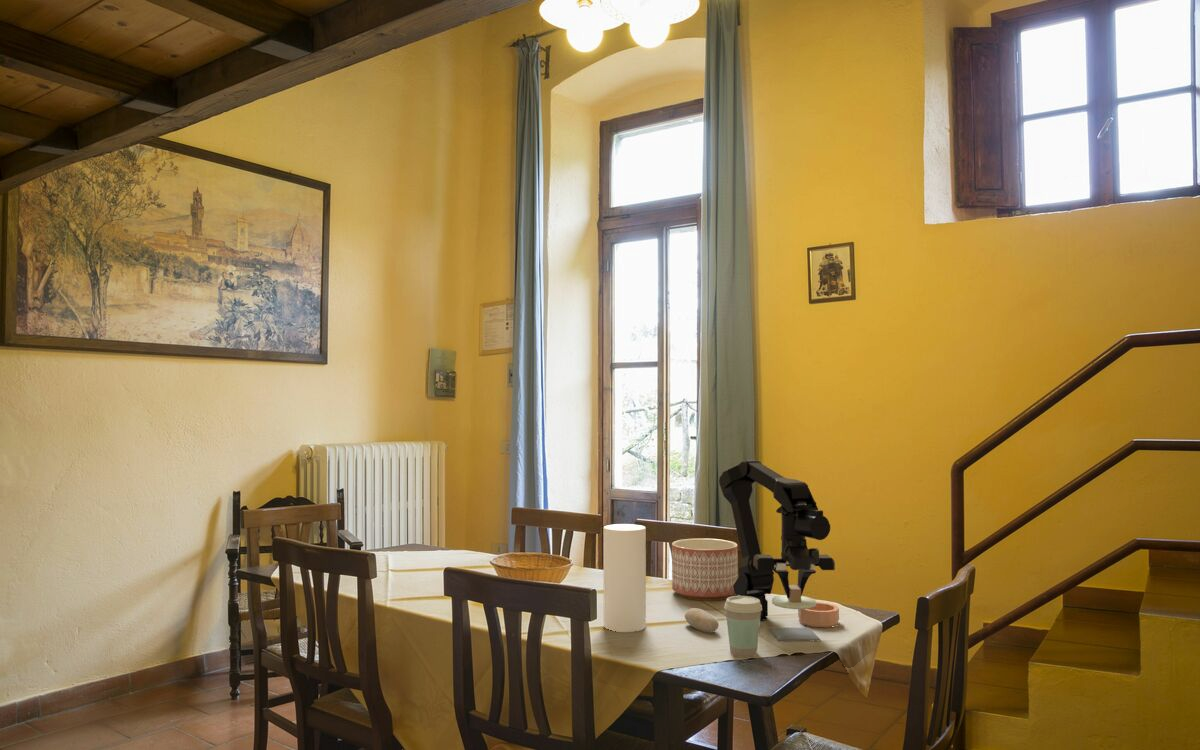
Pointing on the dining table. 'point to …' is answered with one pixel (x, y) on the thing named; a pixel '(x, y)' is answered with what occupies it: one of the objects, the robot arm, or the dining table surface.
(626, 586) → the tall pillar cylinder
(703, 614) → the stone
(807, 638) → the mat
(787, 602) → the lid
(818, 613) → the bowl
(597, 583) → the dining table surface
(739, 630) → the coffee cup
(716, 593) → the planter
